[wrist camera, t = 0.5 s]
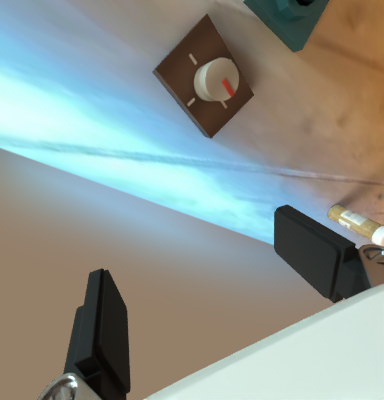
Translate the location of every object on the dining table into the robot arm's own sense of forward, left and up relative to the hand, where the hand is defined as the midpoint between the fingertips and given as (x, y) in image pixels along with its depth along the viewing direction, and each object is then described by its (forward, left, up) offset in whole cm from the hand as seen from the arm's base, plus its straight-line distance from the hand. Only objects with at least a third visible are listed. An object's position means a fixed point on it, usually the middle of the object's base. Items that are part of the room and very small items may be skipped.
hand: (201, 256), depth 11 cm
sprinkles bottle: (+33, +42, -28) cm, 61 cm away
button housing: (-15, +30, -28) cm, 44 cm away
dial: (-7, +13, -25) cm, 29 cm away
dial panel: (-7, +13, -28) cm, 32 cm away
